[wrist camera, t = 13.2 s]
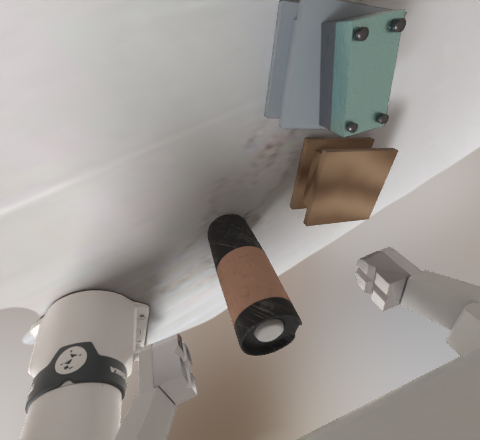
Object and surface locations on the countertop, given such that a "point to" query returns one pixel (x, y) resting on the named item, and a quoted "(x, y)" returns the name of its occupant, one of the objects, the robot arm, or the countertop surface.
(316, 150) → the stand
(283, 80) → the stand
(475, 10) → the countertop surface
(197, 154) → the countertop surface
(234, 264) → the travel mug
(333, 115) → the block
